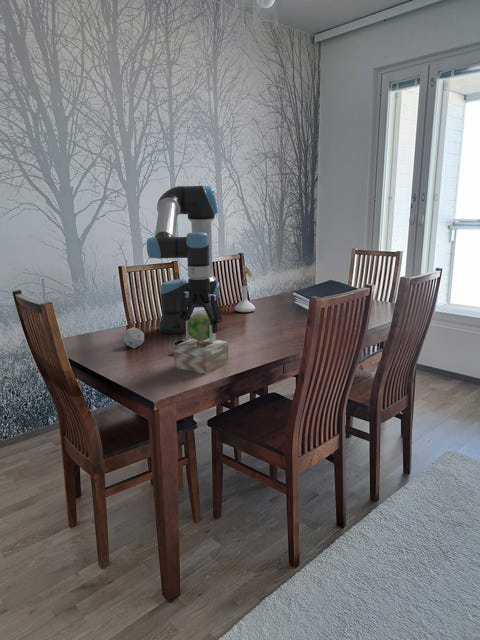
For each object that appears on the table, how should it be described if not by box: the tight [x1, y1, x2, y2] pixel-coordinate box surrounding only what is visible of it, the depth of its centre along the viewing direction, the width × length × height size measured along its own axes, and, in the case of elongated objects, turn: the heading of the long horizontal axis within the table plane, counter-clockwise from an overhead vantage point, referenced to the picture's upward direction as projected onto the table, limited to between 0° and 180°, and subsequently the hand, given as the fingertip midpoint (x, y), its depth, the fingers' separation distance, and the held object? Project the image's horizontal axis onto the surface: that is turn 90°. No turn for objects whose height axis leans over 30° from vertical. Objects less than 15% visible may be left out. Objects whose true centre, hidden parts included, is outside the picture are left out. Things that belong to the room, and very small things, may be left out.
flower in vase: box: [234, 265, 256, 313], centre depth 251 cm, size 13×11×25 cm
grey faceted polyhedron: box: [123, 326, 145, 350], centre depth 191 cm, size 8×9×10 cm
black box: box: [167, 340, 186, 357], centre depth 183 cm, size 13×8×5 cm, turn 158°
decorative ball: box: [187, 312, 211, 341], centre depth 165 cm, size 10×10×10 cm
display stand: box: [172, 338, 229, 375], centre depth 167 cm, size 14×14×8 cm
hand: (200, 339), depth 166 cm, fingers closed on decorative ball, 10 cm apart
